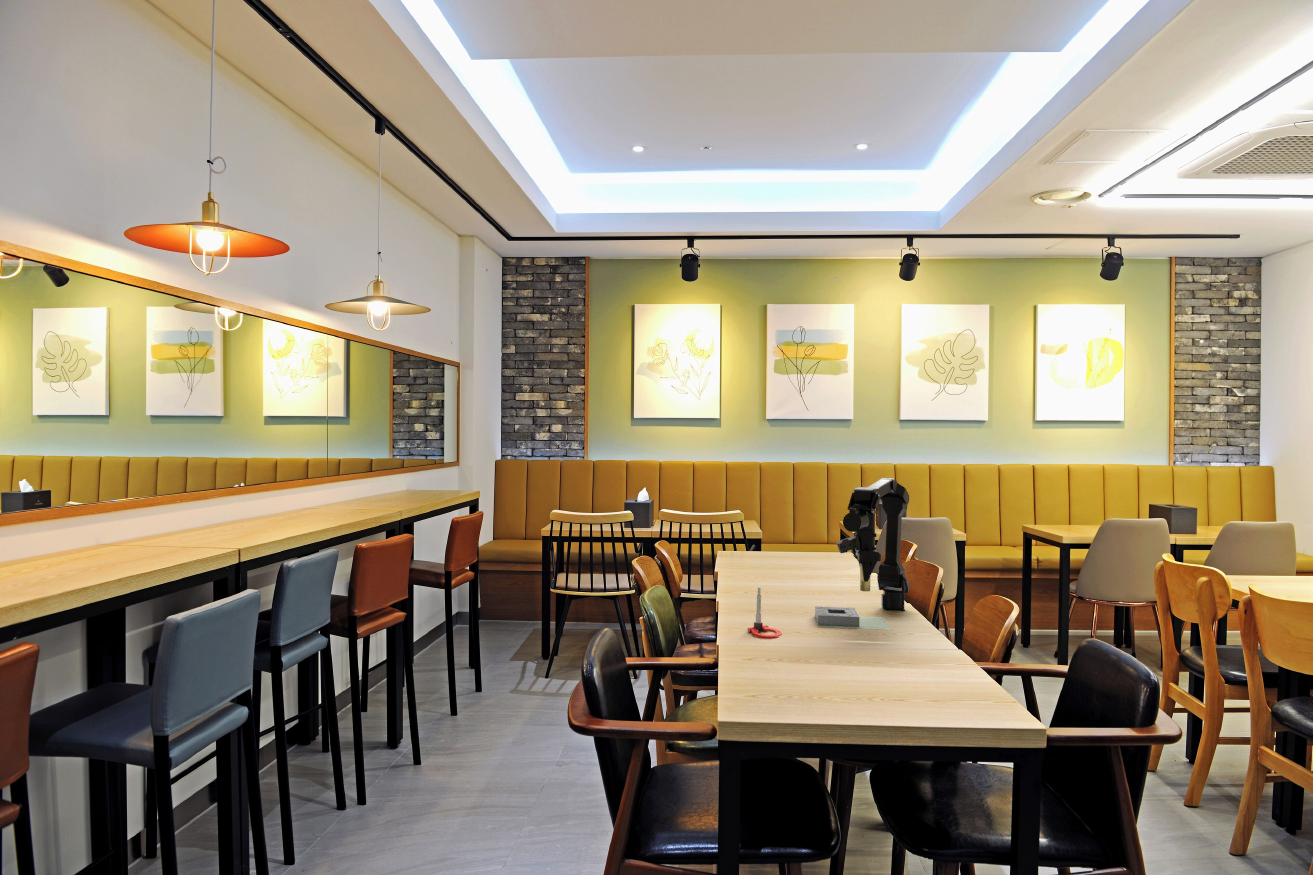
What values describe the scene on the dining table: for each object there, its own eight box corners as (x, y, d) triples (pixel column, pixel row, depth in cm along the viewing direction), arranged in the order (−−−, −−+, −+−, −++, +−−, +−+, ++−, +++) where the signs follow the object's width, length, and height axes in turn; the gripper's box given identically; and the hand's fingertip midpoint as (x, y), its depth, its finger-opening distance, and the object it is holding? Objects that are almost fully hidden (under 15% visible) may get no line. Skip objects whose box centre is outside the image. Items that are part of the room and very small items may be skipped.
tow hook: (787, 638, 208) (768, 628, 216) (788, 593, 207) (769, 585, 215) (763, 641, 204) (744, 632, 212) (764, 596, 203) (745, 588, 212)
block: (854, 617, 229) (854, 607, 229) (859, 626, 217) (859, 616, 217) (815, 615, 231) (815, 606, 231) (818, 625, 219) (818, 615, 219)
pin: (869, 589, 224) (869, 556, 224) (870, 591, 221) (871, 558, 221) (859, 589, 224) (859, 556, 224) (860, 591, 221) (861, 558, 221)
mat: (883, 618, 229) (883, 617, 229) (891, 630, 214) (891, 629, 214) (814, 616, 232) (814, 614, 232) (818, 627, 217) (818, 626, 217)
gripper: (834, 525, 233) (834, 574, 233) (842, 532, 214) (841, 585, 214) (870, 526, 231) (870, 575, 231) (881, 532, 213) (881, 586, 213)
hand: (865, 580), depth 222 cm, fingers closed on pin, 3 cm apart
